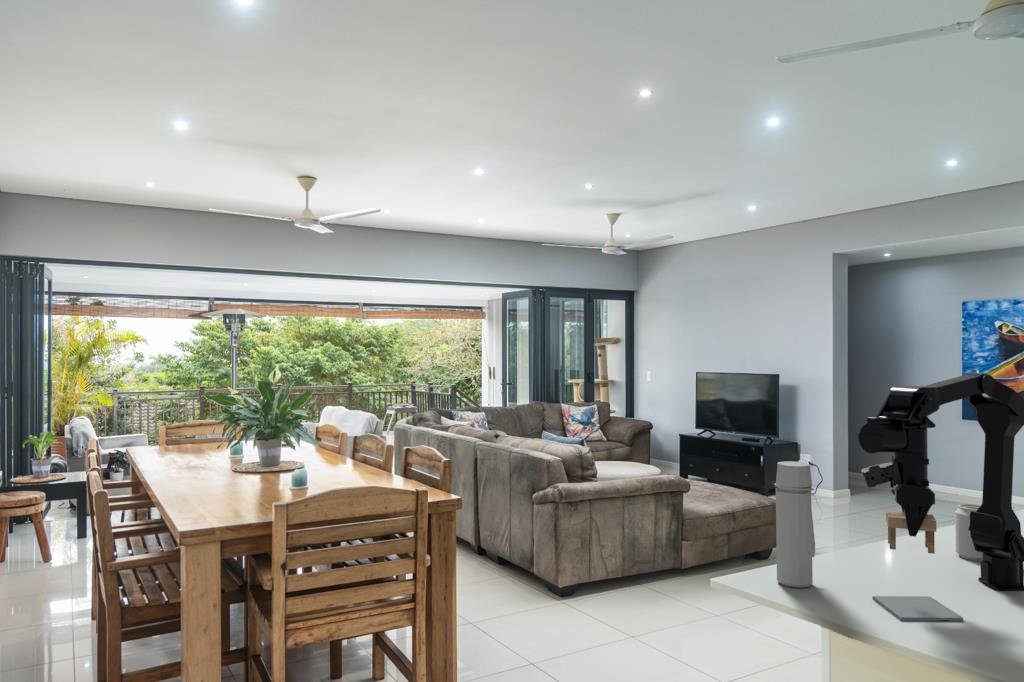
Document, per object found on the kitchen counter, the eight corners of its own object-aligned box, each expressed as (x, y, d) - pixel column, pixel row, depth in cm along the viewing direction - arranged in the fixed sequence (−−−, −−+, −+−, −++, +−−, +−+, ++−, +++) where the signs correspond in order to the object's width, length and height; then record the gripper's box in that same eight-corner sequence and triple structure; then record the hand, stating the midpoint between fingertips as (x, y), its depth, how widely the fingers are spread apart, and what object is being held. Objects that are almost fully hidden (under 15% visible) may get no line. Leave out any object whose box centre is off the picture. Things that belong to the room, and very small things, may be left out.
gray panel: (930, 599, 138) (930, 596, 138) (963, 621, 127) (963, 617, 127) (872, 599, 139) (872, 596, 139) (900, 620, 128) (900, 617, 128)
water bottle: (795, 591, 143) (793, 467, 144) (767, 580, 151) (765, 462, 151) (829, 585, 147) (827, 464, 147) (800, 574, 154) (798, 459, 155)
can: (993, 555, 167) (992, 504, 167) (994, 564, 160) (993, 510, 161) (956, 551, 171) (955, 501, 171) (955, 559, 164) (954, 507, 165)
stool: (886, 541, 142) (886, 510, 142) (932, 546, 138) (932, 514, 138) (888, 549, 136) (888, 516, 136) (936, 554, 133) (936, 521, 133)
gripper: (862, 443, 149) (862, 518, 149) (866, 454, 132) (866, 539, 132) (923, 446, 145) (923, 523, 144) (935, 458, 128) (935, 546, 127)
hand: (910, 532), depth 137 cm, fingers closed on stool, 6 cm apart
